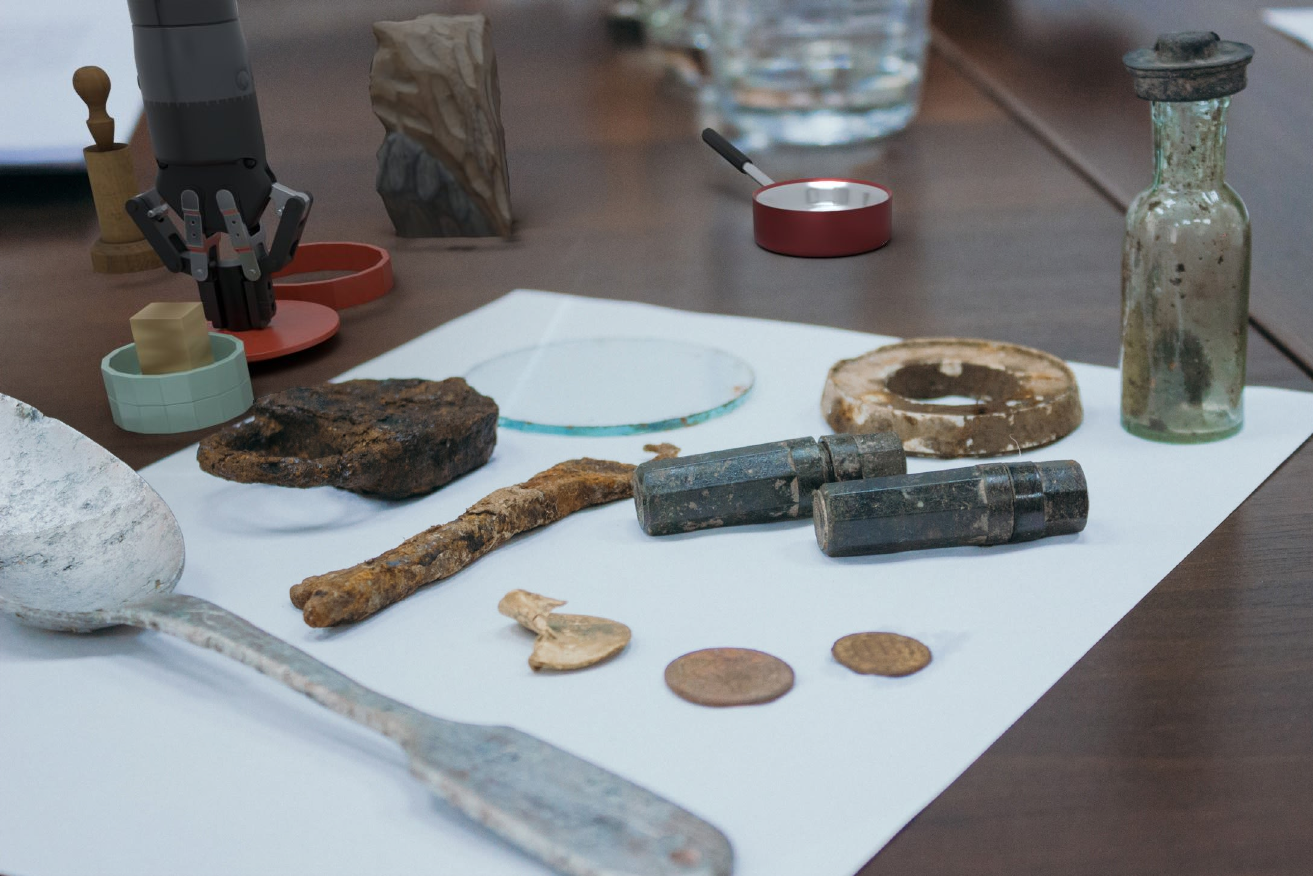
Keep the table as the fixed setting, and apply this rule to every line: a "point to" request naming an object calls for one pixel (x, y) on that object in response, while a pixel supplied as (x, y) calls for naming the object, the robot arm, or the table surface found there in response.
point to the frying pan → (813, 210)
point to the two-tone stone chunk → (440, 127)
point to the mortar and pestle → (111, 184)
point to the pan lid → (287, 329)
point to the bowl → (178, 390)
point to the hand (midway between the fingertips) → (242, 324)
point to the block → (171, 338)
